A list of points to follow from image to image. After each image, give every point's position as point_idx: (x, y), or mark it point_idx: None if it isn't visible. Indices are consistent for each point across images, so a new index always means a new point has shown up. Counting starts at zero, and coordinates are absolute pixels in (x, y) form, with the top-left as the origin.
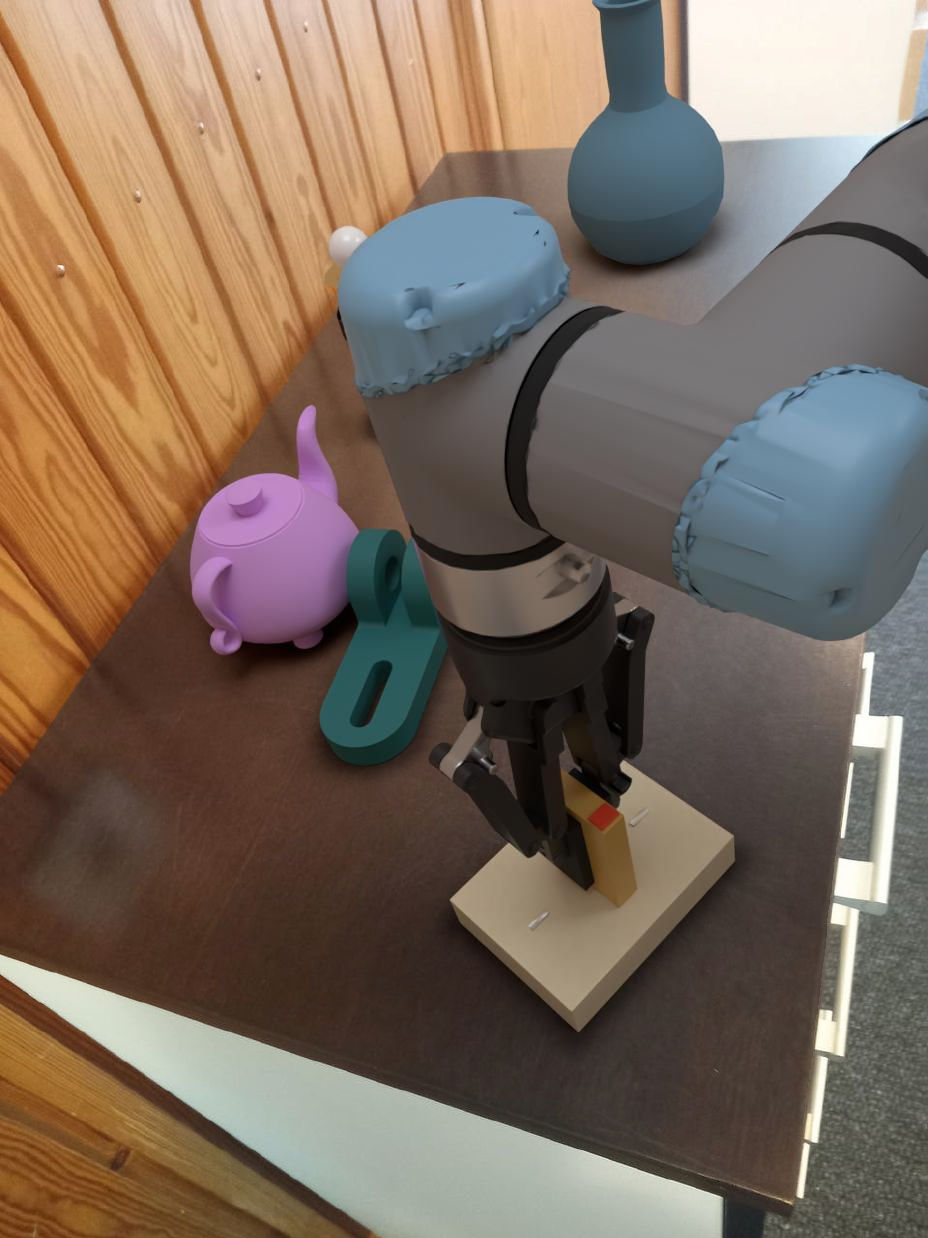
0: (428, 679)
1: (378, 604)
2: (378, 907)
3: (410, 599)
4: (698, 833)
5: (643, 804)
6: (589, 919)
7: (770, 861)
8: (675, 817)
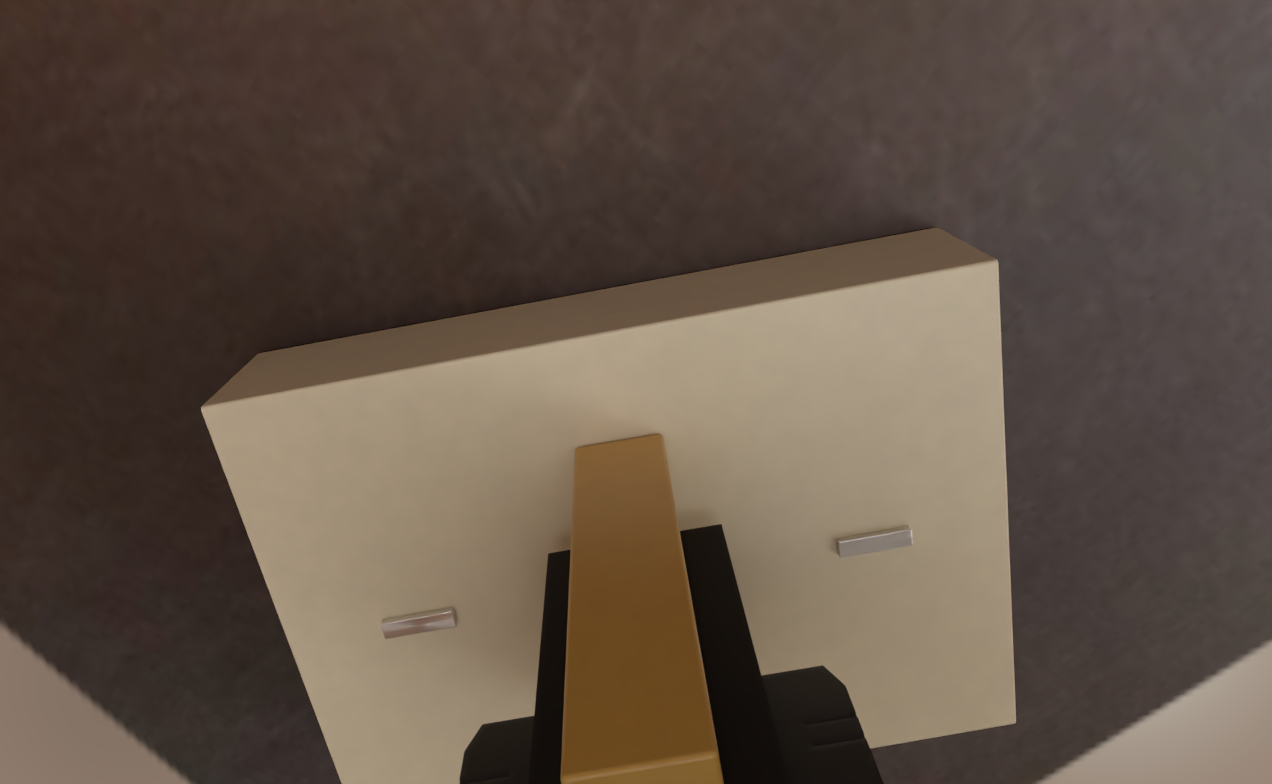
0: None
1: None
2: (29, 139)
3: None
4: (956, 672)
5: (917, 513)
6: None
7: (1020, 679)
8: (951, 597)
